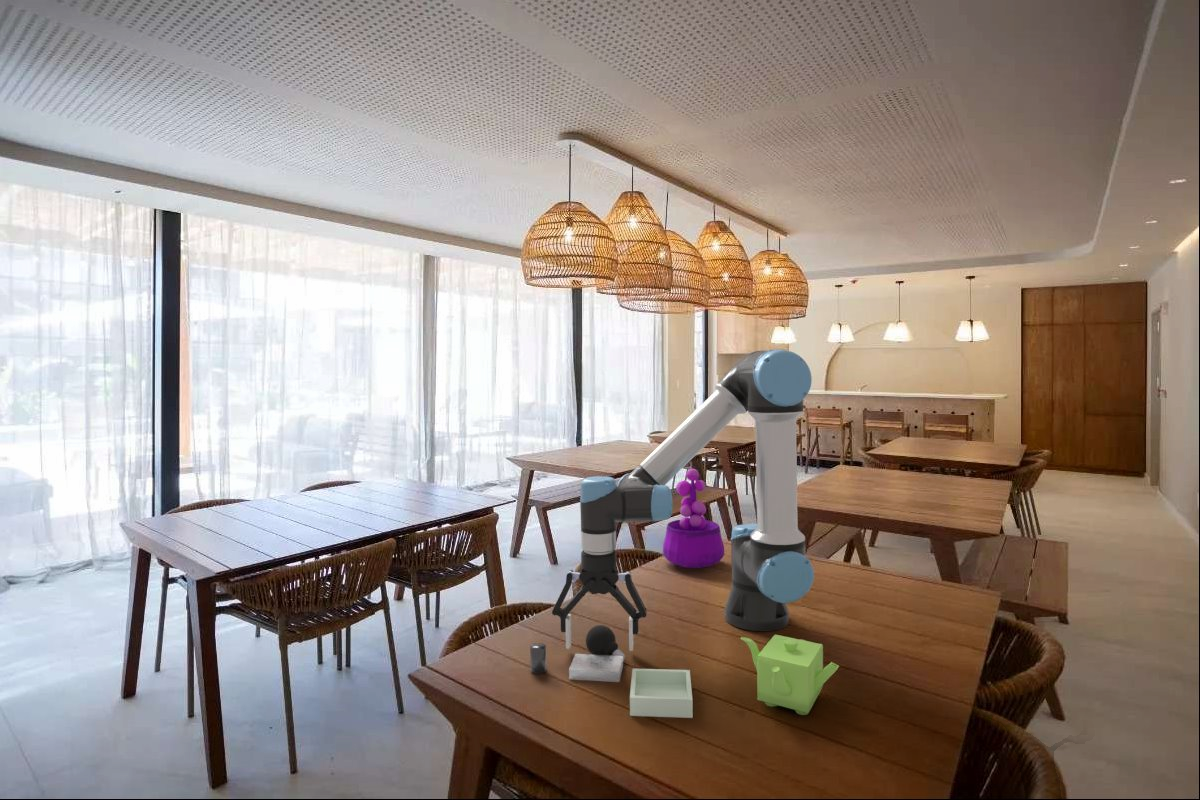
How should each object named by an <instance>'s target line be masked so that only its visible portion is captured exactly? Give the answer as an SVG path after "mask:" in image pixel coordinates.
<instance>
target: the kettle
mask: <svg viewBox="0 0 1200 800" xmlns="http://www.w3.org/2000/svg"><path fill="white" fill-rule="evenodd" d="M740 639H741V641H743V642H744V643H745V644H746V645H747V647H748V648H749V650H750V653H751V657H752V661H753V665H754V667H755V669H756V673H757V678H756V681H757V682H756V683H757V684H756V686H757V687H756V688H757V689H756V690H757V693H756V694H757V695H756V697H757V698H756V699H757V701H761V702H764V704H765V705H766V706H767V707H772V708H774V707H778V706H779V707H782V708H786V709H790V710H794V711H795V713H796V714H798V715H800V716H806V715H808V714H809V713H810V711H811V709H813V708H812V707H813V706H814V705H815V702H816V700H817V698H818V696H819V695H820V693H821V692H822V689H823V687H824V684H825V683H826V682H827V681H828V680H829V679H830V678H831V677H832V676H833V674H835V672H836V671H837V670H838V668H839V667H840V665H839V664H836V663H834V662H833V661H831V662H830V663H829V664H827V665H826V666H825V667H824V650H823V649H824V645H823V643H816V642H813V641H808V640H805V639H799V638H798V639H797V638H794V637H789V636H783V635H778V634H774V635H773V636H772V637H771V639H769V641H768V642H767V644H766V645H765V646H764V647H763V648H762V649H761V651H760V650H759V647H758V645H757V643H756V642H755V641H754V640H753V639H751V638H749V637H744V636H743V637H740Z"/></svg>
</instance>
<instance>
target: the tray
mask: <svg viewBox="0 0 1200 800" xmlns="http://www.w3.org/2000/svg"><path fill="white" fill-rule="evenodd" d="M631 669H632V670H631V681H630V691H629V716H630V717H632V716H633V717H657V718H683V719H687V718H688V719H693V711H694V710H693V705H694V704H693V700H694V699H693V692H692V691H693V690H692V681H691V670H690V669H671V668H670V669H666V668H665V669H661V668H658V669H657V668H631Z"/></svg>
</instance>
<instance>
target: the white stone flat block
mask: <svg viewBox="0 0 1200 800" xmlns="http://www.w3.org/2000/svg"><path fill="white" fill-rule="evenodd" d="M623 667H624V661H623V656H613V655H593V654H591V653H589V654H588V653H575V654H574V656H573V659H572V661H571V664H570V666H569V668H568V680H572V681H576V680H577V681H594V682H595V681H596V682H610V683H611V682H613V683H614V682H615V683H619V682H620V681H621V676H622V673H623V672H622V671H623Z"/></svg>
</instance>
